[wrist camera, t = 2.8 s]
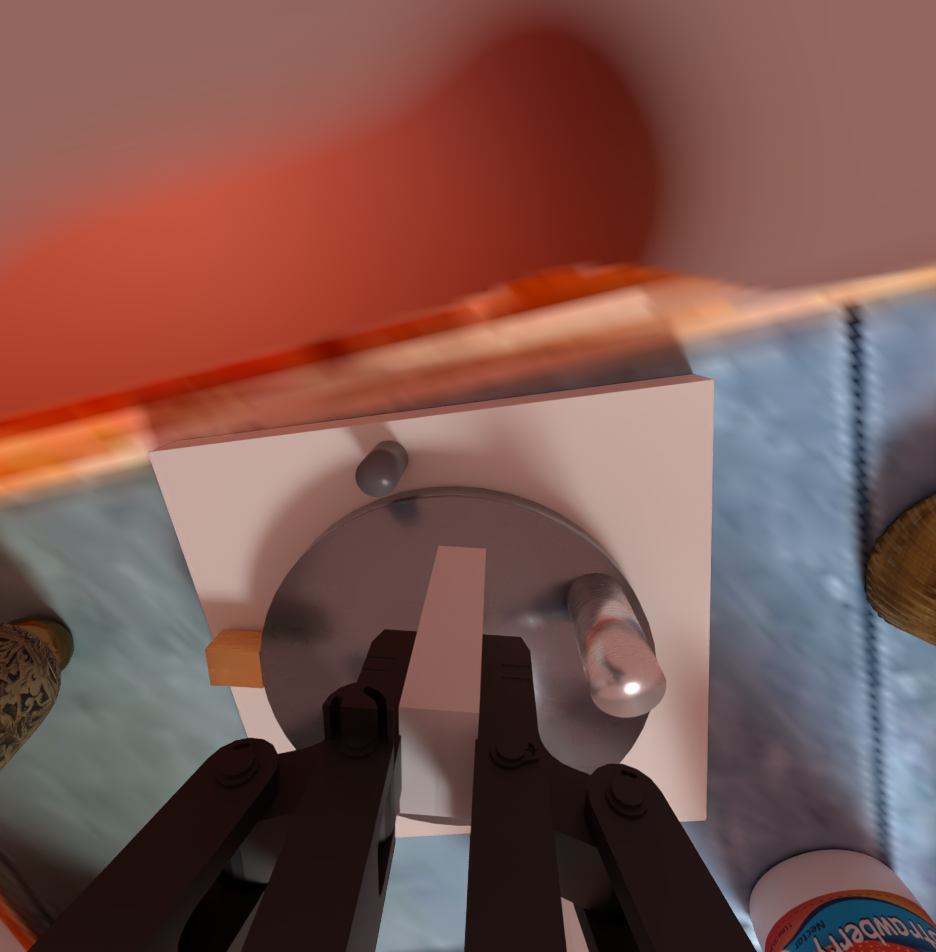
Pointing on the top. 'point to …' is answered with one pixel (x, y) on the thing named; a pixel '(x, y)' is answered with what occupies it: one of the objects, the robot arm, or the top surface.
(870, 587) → the seashell
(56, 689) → the cup
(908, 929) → the fruit juice
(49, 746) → the top surface
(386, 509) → the flange plate
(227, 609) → the base plate
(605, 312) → the top surface
